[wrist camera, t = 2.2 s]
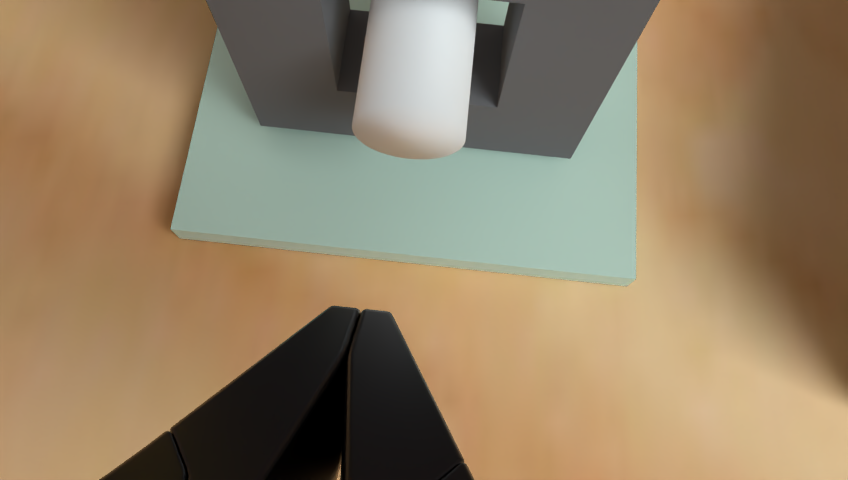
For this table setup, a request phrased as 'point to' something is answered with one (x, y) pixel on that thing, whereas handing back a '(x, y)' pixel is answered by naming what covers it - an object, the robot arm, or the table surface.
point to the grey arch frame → (491, 71)
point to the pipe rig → (415, 165)
